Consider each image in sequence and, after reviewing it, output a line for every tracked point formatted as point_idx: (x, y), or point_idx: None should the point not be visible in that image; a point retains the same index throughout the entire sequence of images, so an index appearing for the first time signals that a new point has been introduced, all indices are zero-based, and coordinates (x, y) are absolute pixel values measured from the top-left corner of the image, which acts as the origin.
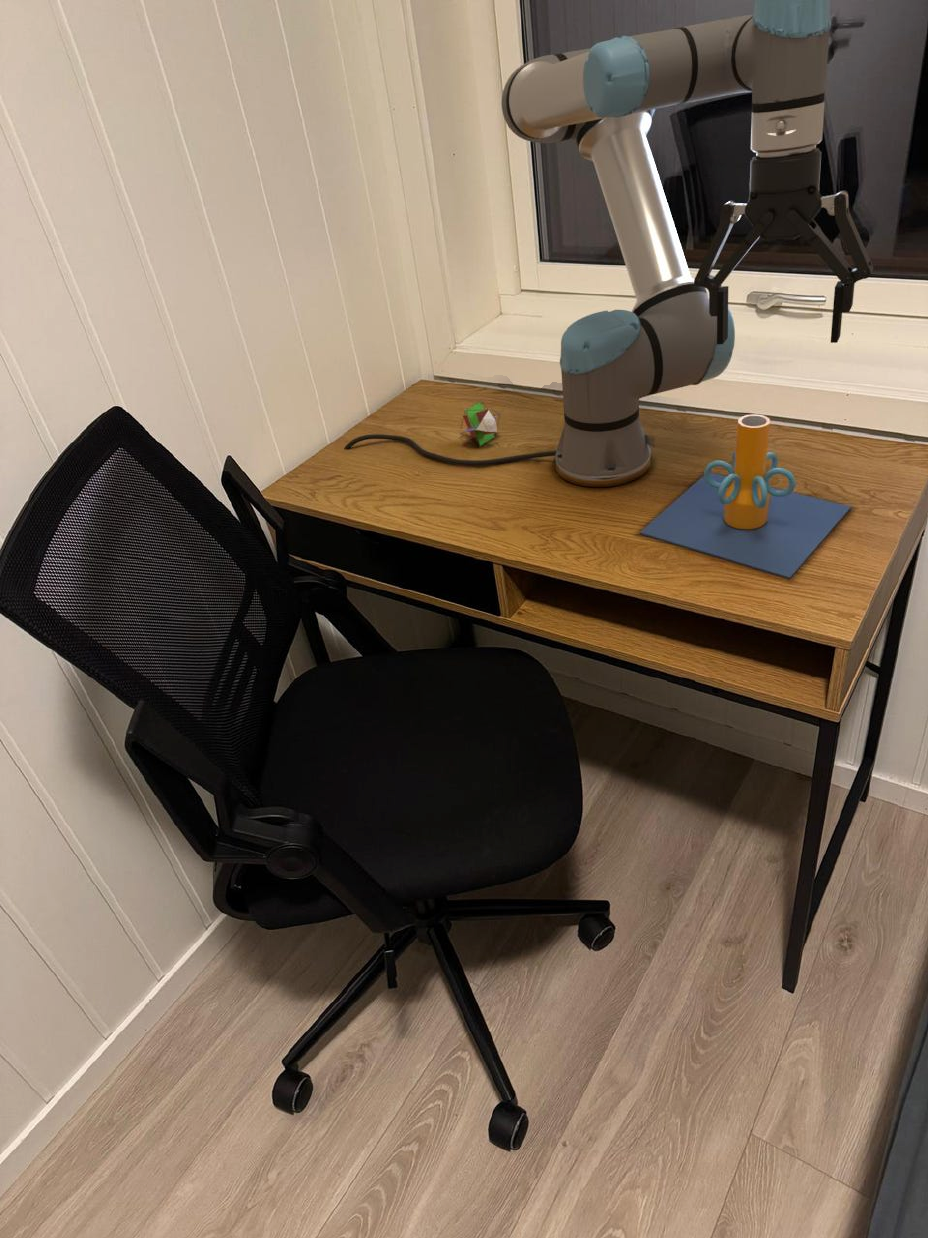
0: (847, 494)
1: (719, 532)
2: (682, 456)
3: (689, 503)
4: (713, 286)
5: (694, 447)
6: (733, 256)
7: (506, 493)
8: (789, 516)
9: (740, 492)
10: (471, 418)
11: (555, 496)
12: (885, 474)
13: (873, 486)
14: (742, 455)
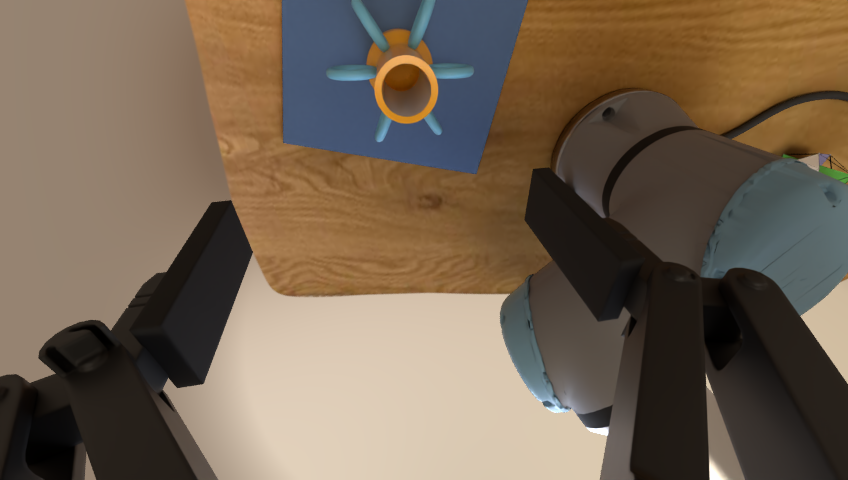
0: (301, 174)
1: None
2: (514, 204)
3: (482, 83)
4: (676, 270)
5: (503, 228)
6: (689, 399)
7: (749, 31)
8: (345, 91)
9: (405, 41)
10: (828, 174)
11: (673, 46)
12: (279, 230)
13: (280, 201)
14: (412, 51)
